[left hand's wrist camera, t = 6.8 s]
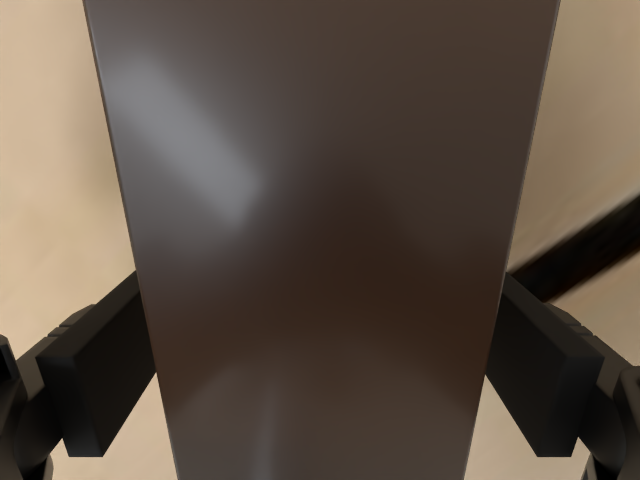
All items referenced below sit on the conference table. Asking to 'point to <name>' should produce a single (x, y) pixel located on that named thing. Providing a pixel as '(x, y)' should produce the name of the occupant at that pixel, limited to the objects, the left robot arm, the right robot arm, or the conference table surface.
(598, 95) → the conference table surface
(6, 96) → the conference table surface
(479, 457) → the conference table surface
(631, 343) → the conference table surface
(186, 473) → the walnut beam
